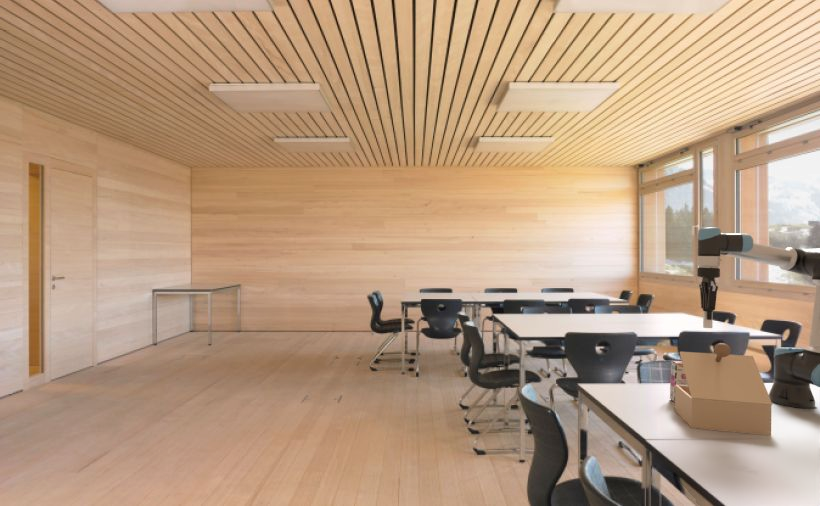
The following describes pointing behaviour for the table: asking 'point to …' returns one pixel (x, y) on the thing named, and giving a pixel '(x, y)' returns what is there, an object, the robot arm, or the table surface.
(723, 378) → the wooden lid with knob
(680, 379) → the candy bar box
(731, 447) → the table surface
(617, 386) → the table surface
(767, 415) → the wooden box
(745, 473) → the table surface
